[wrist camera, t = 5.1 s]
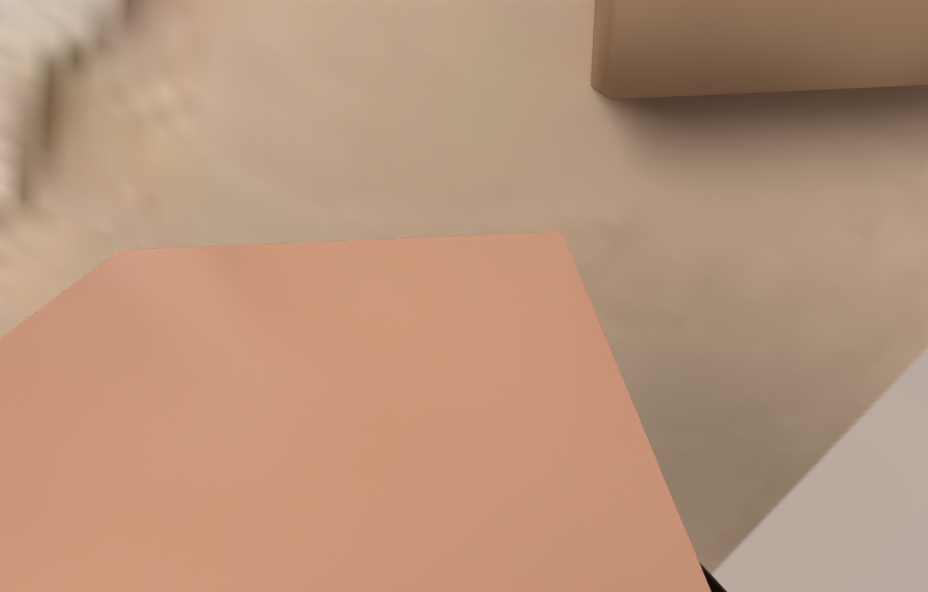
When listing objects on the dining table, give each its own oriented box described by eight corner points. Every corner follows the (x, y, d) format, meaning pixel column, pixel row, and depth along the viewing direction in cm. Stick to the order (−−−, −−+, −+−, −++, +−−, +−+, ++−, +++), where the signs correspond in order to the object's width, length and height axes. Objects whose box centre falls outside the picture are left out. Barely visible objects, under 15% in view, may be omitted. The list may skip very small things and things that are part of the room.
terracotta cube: (550, 540, 10) (640, 1102, 5) (224, 550, 11) (-18, 1109, 5) (561, 231, 8) (782, 759, 2) (119, 249, 8) (-613, 790, 2)
